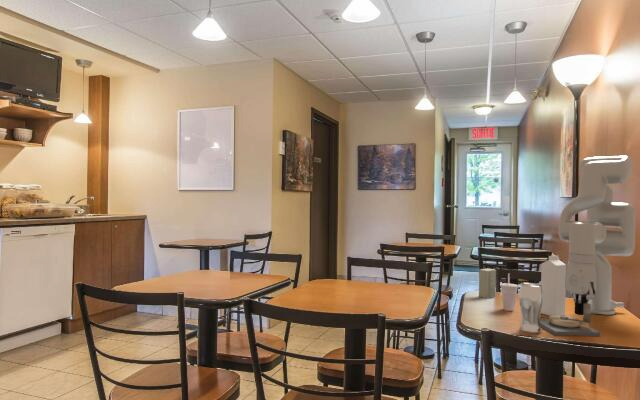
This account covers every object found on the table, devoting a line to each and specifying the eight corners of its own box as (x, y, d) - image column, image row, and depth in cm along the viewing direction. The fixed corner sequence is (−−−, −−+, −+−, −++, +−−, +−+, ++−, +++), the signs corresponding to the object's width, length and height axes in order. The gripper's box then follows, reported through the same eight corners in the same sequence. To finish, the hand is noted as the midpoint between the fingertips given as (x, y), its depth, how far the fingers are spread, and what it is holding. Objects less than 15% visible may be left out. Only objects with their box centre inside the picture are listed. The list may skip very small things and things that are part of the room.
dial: (591, 327, 145) (592, 304, 145) (559, 327, 144) (559, 304, 144) (574, 320, 154) (574, 298, 154) (543, 319, 154) (543, 298, 154)
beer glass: (514, 327, 150) (515, 282, 150) (534, 327, 150) (535, 282, 150) (526, 333, 143) (526, 286, 143) (546, 333, 143) (547, 286, 143)
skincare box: (487, 295, 201) (487, 268, 201) (496, 297, 197) (496, 269, 197) (478, 296, 198) (478, 269, 198) (486, 298, 194) (487, 270, 194)
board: (571, 322, 157) (571, 317, 157) (600, 336, 141) (600, 330, 141) (531, 321, 157) (531, 316, 157) (555, 335, 141) (555, 330, 141)
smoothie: (514, 308, 177) (515, 272, 177) (520, 312, 171) (520, 275, 171) (497, 307, 178) (498, 272, 178) (502, 311, 172) (503, 274, 172)
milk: (565, 315, 167) (566, 256, 167) (555, 317, 164) (556, 257, 164) (549, 311, 173) (551, 254, 172) (540, 313, 170) (541, 255, 169)
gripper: (557, 256, 157) (556, 309, 157) (586, 262, 142) (585, 320, 142) (577, 257, 158) (576, 309, 157) (608, 262, 143) (607, 320, 142)
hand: (580, 314), depth 150 cm, fingers closed
